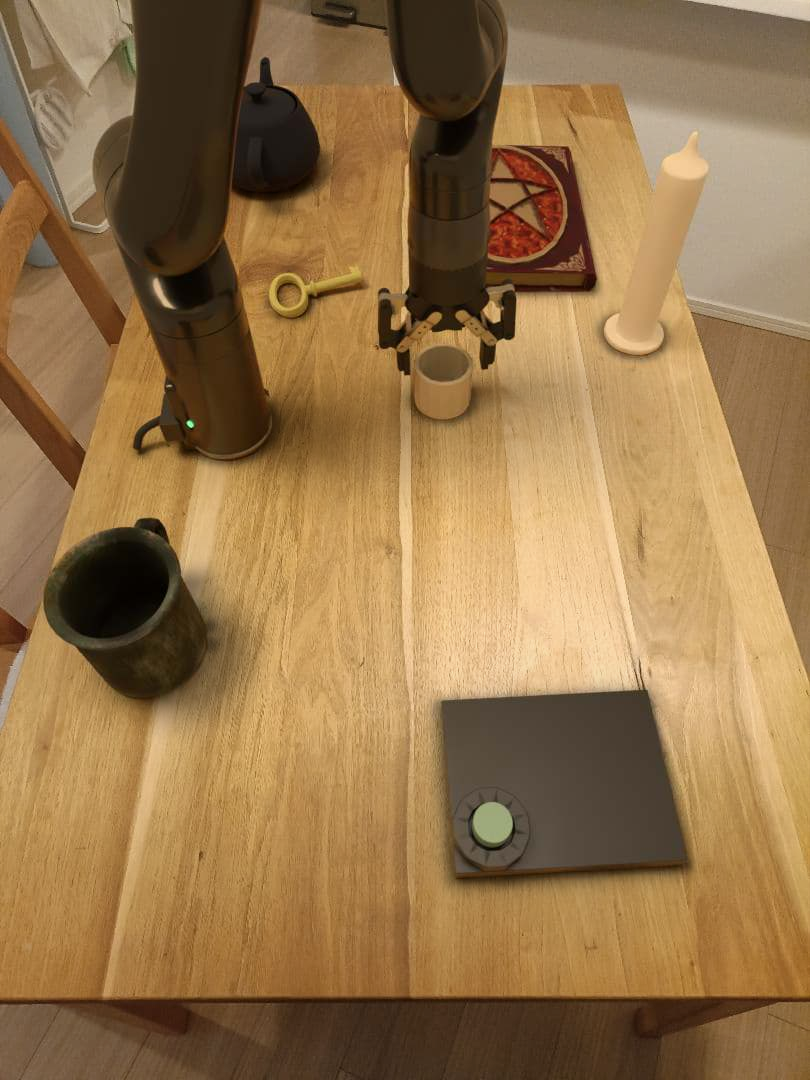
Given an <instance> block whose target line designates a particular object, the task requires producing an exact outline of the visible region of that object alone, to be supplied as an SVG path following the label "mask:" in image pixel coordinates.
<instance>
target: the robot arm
mask: <svg viewBox="0 0 810 1080" xmlns="http://www.w3.org/2000/svg"><path fill="white" fill-rule="evenodd" d="M129 1H130V3H129V4H130V13H131V22H132V31H133V42H134V51H135V52H134V54H135V57H134V58H135V86H134V87H135V89H134V101H133V108H132V109H133V110H132V114H130V115H126V116H124V117H121V118H119V119H118V120H116V121H115V122H113V123H112V124H111V125H110V126H109V127H108V128H106V129H105V131H104V132H103V133H102V135H101V136H100V138H99V140H98V142H97V144H96V146H95V149H94V152H93V157H92V166H91V167H92V169H91V170H92V179H93V183H94V187H95V190H96V193H97V196H98V198H99V201H100V204H101V206H102V209H103V212H104V214H105V217H106V220H107V223H108V225H109V227H110V230H111V233H112V235H113V238H114V240H115V243H116V246H117V248H118V252H119V254H120V257H121V259H122V262H123V265H124V268H125V271H126V273H127V277H128V279H129V282H130V284H131V286H132V290H133V292H134V295H135V297H136V300H137V303H138V305H139V307H140V310H141V312H142V315H143V317H144V320H145V323H146V325H147V328H148V331H149V333H150V335H151V339H152V342H153V343H154V346H155V349H156V352H157V354H158V357H159V359H160V362H161V365H162V368H163V370H164V373H165V377H164V384H163V391H164V393H163V396H162V403H161V409H160V414H159V415H158V416H155V417H154V418H152V419H151V420H148V421H146V422H145V423H144V424H142V425H141V426H140V427H139V428H138V429H137V430H136V432H135V435H134V438H133V444H132V449H134V450H136V451H140V450H141V449H142V446H143V440H144V438H145V436H146V434H147V433H148V432H150V431H151V430H153V429H154V428H157V427H159V429H160V431H161V434H162V436H163V438H164V441H165V442H180V441H181V442H183V443H184V444H185V445H184V446H185V447H186V450H187V451H197V452H198V453H200V454H201V455H203V456H205V457H208V458H210V459H214V460H226V461H227V460H235V459H236V460H237V459H241V458H243V457H246V456H249V455H250V454H252V453H254V452H256V451H257V450H259V449H260V448H261V447H263V445H264V444H265V443H266V442H267V440H269V437H270V435H271V434H272V430H273V426H274V425H273V423H274V422H273V417H272V412H271V410H270V407H269V403H268V400H267V399H268V398H271V397H270V393H269V390H267V389H266V388H265V385H264V382H263V378H262V373H261V369H260V366H259V365H260V364H259V360H258V357H257V352H256V348H255V343H254V340H253V339H254V338H253V335H252V330H251V326H250V323H249V319H248V315H247V309H246V306H245V305H246V304H245V302H244V296H243V292H242V288H241V284H240V278H239V274H238V272H237V270H236V266H235V264H234V261H233V258H232V255H231V252H230V250H229V246H228V243H227V240H226V237H225V233H226V231H227V226H228V222H229V215H230V208H231V197H232V196H231V195H232V185H233V183H232V174H233V163H234V152H235V142H236V133H237V125H238V117H239V111H240V105H241V99H242V95H243V90H244V87H245V86H246V80H247V76H248V73H249V68H250V64H251V61H252V54H253V49H254V46H255V41H256V38H257V32H258V27H259V22H260V17H261V12H262V7H263V3H264V0H129ZM383 3H384V12H385V21H386V30H387V40H388V46H389V53H390V58H391V63H392V68H393V70H394V74H395V77H396V80H397V82H398V85H399V87H400V89H401V91H402V93H403V95H404V97H405V99H406V100H407V101H408V103H409V104H410V105H411V106H412V108H413V109H414V110H415V111H416V112H418V113H419V116H418V120H417V123H416V127H415V129H414V131H413V135H412V138H411V141H410V146H409V156H408V161H409V162H408V169H409V170H408V173H409V174H408V175H409V205H408V213H407V239H406V240H407V254H408V257H407V258H408V287H407V289H406V291H405V292H403V293H400V292H399V293H391V291H390V289H389V288H387V287H381V288H380V289H378V291H377V334H378V346H379V349H381V350H388V349H390V348H392V349H394V350H395V351H396V366H397V370H398V372H403V375H404V377H405V376H407V377H408V376H411V375H412V374H411V373H412V372H411V371H412V369H411V346H413V345H414V343H415V342H419V341H420V340H422V338H424V336H425V335H427V333H429V331H431V333H440V332H445V331H454V332H458V331H463V328H467V329H468V330H469V332H471V334H473V335H474V336H475V338H478V337H479V339H480V342H479V357H478V359H479V364H480V370H481V371H484V370H485V371H487V370H489V366H490V365H493V364H494V362H495V359H496V350H497V344H498V342H499V341H501V340H505V341H511V340H513V339H514V338H515V337H516V320H517V301H518V300H517V294H516V290H515V289H514V285H513V281H512V280H511V279H505V280H503V281H502V283H501V286H497V287H488V288H487V286H486V271H487V258H488V246H489V243H490V236H491V234H490V207H489V196H490V182H491V168H492V145H493V139H494V132H495V125H496V120H497V117H498V111H499V106H500V101H501V100H500V99H501V94H502V91H503V90H502V89H503V83H504V78H505V71H506V70H505V69H506V64H507V58H508V57H507V56H508V46H509V45H508V44H509V31H508V29H509V28H508V22H507V17H506V12H505V10H504V7H503V5H502V3H501V1H500V0H383ZM490 301H491V302H493V303H494V304H495V307H496V308H497V309H499V310H500V311H499V313H500V314H499V315H500V316H499V321H496V322H493V321H492V320H491V319H490V317H488V316H487V315H486V313H485V311H484V309H485V308H486V307H487V306H488V304H489V302H490ZM402 308H405V309H406V310H407V313H406V315H405V318H404V320H403V321H402V322H401V324H400V325H398V327H397V328H396V329H392V319H395V318H396V317H397V315H398V314H399V312H400V309H402ZM267 397H268V398H267Z"/></svg>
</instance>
